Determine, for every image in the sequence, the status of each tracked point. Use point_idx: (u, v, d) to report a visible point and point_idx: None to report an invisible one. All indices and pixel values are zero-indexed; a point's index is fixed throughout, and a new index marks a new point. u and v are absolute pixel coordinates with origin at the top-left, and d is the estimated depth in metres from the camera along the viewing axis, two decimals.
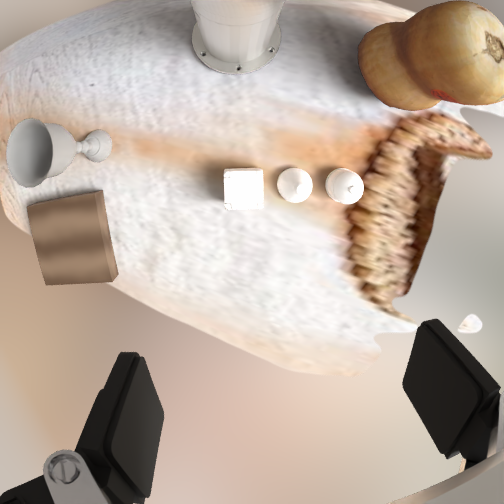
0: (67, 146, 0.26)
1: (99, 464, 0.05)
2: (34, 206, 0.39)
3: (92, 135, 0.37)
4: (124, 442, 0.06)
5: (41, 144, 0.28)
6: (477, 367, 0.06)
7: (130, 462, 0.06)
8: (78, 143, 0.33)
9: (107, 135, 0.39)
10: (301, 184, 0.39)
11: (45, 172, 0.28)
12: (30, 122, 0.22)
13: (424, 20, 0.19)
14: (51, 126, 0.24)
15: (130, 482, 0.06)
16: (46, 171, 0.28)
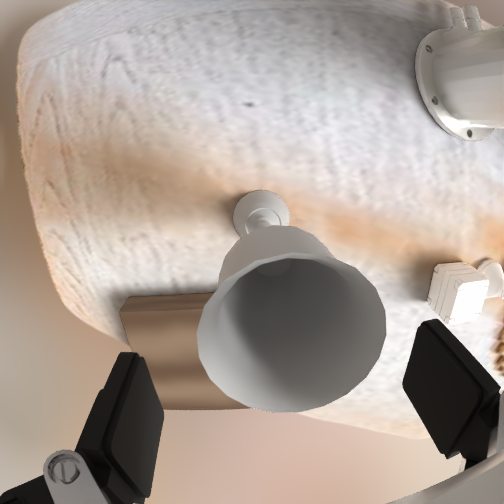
0: None
1: (99, 464, 0.05)
2: (137, 313, 0.27)
3: (265, 205, 0.25)
4: (124, 442, 0.06)
5: None
6: (477, 367, 0.06)
7: (130, 462, 0.06)
8: None
9: (283, 203, 0.26)
10: None
11: (253, 328, 0.16)
12: (300, 258, 0.10)
13: None
14: None
15: (130, 482, 0.06)
16: (252, 324, 0.16)
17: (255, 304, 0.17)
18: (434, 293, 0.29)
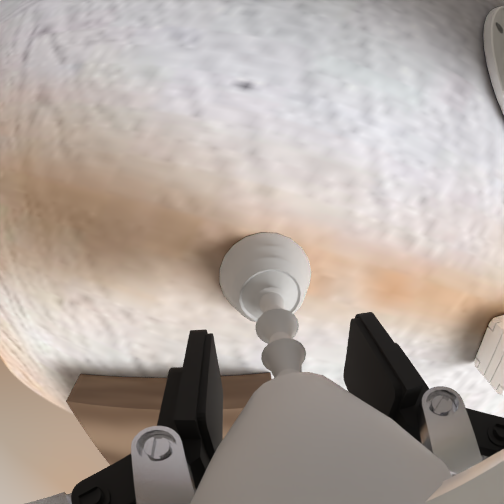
0: None
1: (188, 437, 0.06)
2: (88, 406, 0.16)
3: (273, 264, 0.14)
4: (210, 412, 0.07)
5: None
6: (400, 362, 0.07)
7: (213, 433, 0.07)
8: (296, 349, 0.10)
9: (302, 254, 0.16)
10: None
11: None
12: None
13: None
14: None
15: (211, 454, 0.07)
16: None
17: None
18: (485, 355, 0.19)
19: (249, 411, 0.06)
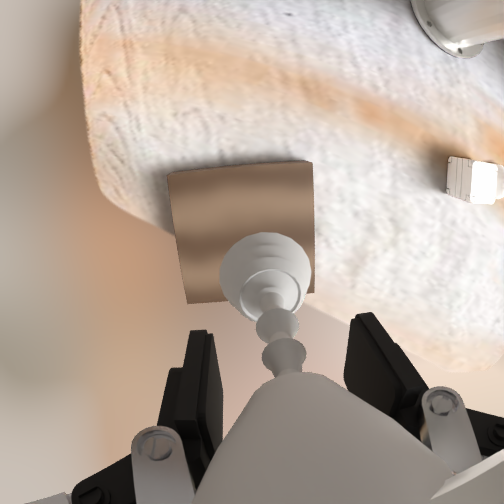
0: None
1: (188, 437, 0.06)
2: (185, 175, 0.28)
3: (273, 263, 0.14)
4: (210, 412, 0.07)
5: None
6: (400, 362, 0.07)
7: (213, 433, 0.07)
8: (296, 349, 0.10)
9: (302, 254, 0.16)
10: None
11: None
12: None
13: None
14: None
15: (211, 454, 0.07)
16: None
17: None
18: (451, 181, 0.31)
19: (250, 411, 0.06)
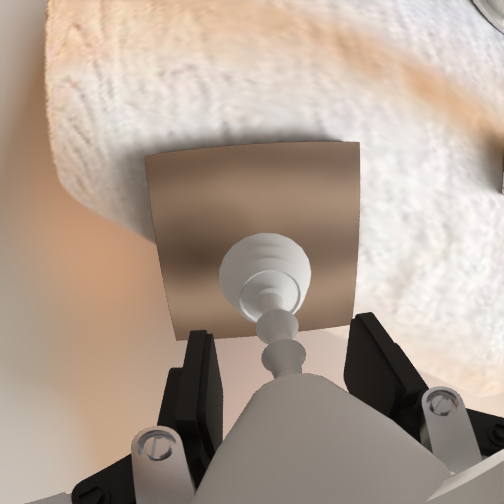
0: None
1: (188, 437, 0.06)
2: (172, 155, 0.18)
3: (273, 264, 0.14)
4: (210, 413, 0.07)
5: None
6: (400, 362, 0.07)
7: (213, 433, 0.07)
8: (296, 350, 0.10)
9: (302, 255, 0.16)
10: None
11: None
12: None
13: None
14: None
15: (211, 454, 0.07)
16: None
17: None
18: None
19: (249, 413, 0.06)
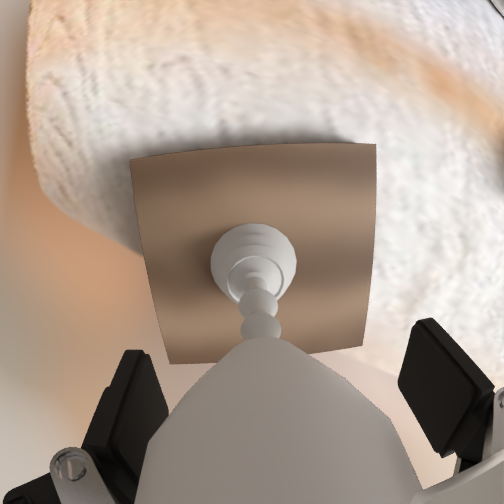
0: None
1: (106, 461, 0.05)
2: (161, 158, 0.15)
3: (258, 250, 0.15)
4: (131, 439, 0.06)
5: None
6: (471, 366, 0.06)
7: (136, 459, 0.06)
8: (271, 323, 0.11)
9: (287, 243, 0.17)
10: None
11: None
12: None
13: None
14: None
15: (136, 479, 0.06)
16: None
17: None
18: None
19: (215, 364, 0.07)
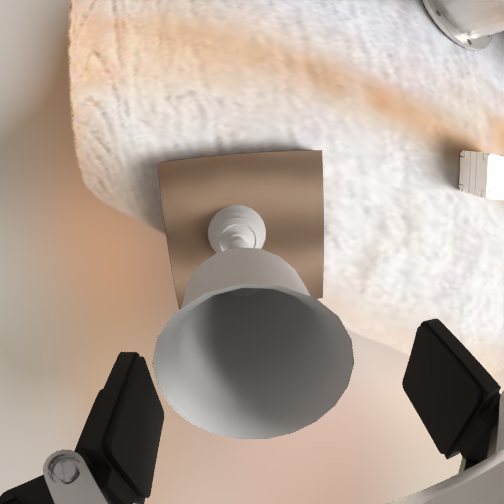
0: None
1: (99, 464, 0.05)
2: (178, 162, 0.24)
3: (239, 221, 0.24)
4: (124, 442, 0.06)
5: None
6: (477, 367, 0.06)
7: (130, 462, 0.06)
8: None
9: (259, 218, 0.26)
10: None
11: (222, 351, 0.15)
12: None
13: None
14: (295, 282, 0.11)
15: (130, 482, 0.06)
16: (221, 347, 0.15)
17: (225, 326, 0.16)
18: (464, 177, 0.28)
19: None
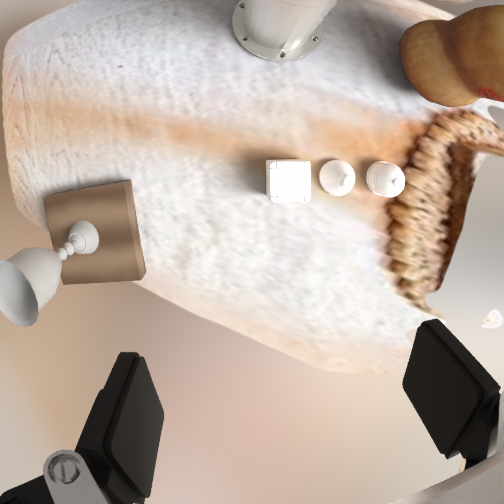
0: (50, 279, 0.26)
1: (99, 464, 0.05)
2: (52, 197, 0.36)
3: (76, 230, 0.36)
4: (124, 442, 0.06)
5: None
6: (477, 367, 0.06)
7: (130, 462, 0.06)
8: (62, 250, 0.32)
9: (92, 228, 0.38)
10: (349, 176, 0.36)
11: (33, 294, 0.27)
12: None
13: (476, 20, 0.16)
14: (29, 261, 0.24)
15: (130, 482, 0.06)
16: (34, 292, 0.28)
17: None
18: (267, 183, 0.40)
19: None
